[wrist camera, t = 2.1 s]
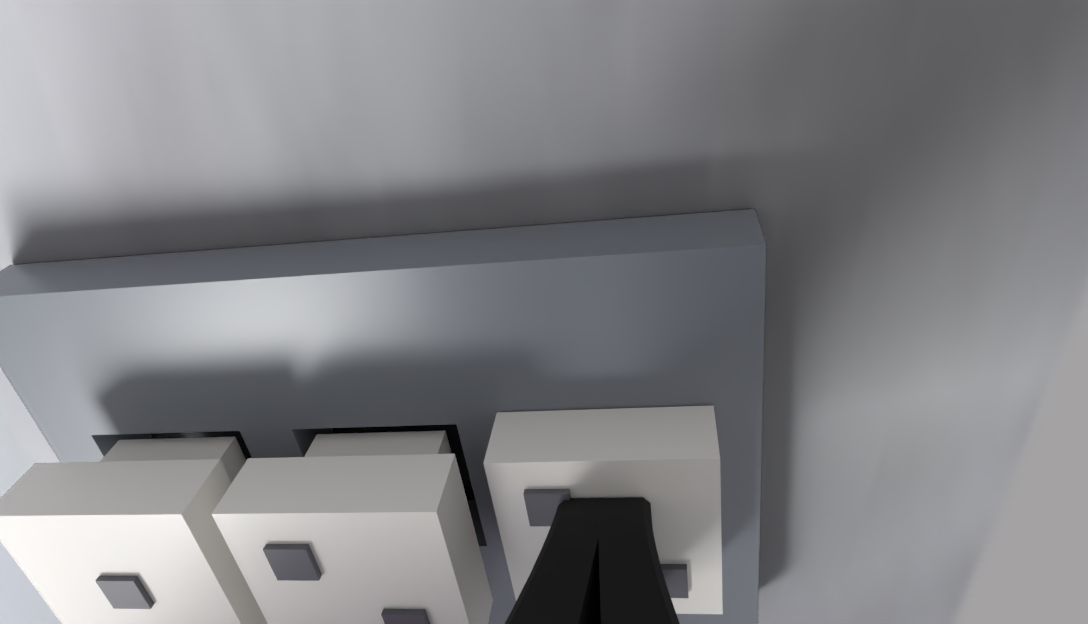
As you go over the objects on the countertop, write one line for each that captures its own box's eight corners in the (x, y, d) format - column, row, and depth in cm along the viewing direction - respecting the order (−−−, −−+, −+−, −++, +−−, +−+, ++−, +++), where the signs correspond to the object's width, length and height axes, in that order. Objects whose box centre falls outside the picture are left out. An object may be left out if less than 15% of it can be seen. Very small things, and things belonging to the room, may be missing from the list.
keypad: (749, 597, 16) (756, 649, 15) (197, 592, 18) (170, 636, 17) (755, 208, 11) (766, 244, 10) (9, 265, 13) (-43, 298, 12)
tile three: (712, 507, 14) (723, 619, 12) (535, 508, 15) (517, 616, 13) (707, 361, 13) (721, 463, 10) (508, 369, 13) (482, 468, 11)
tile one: (311, 547, 15) (255, 661, 13) (155, 547, 15) (78, 657, 13) (252, 411, 13) (177, 519, 11) (80, 418, 14) (-24, 521, 12)
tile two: (503, 546, 14) (479, 668, 12) (334, 547, 15) (282, 662, 13) (470, 404, 12) (434, 517, 10) (278, 411, 13) (207, 519, 11)
